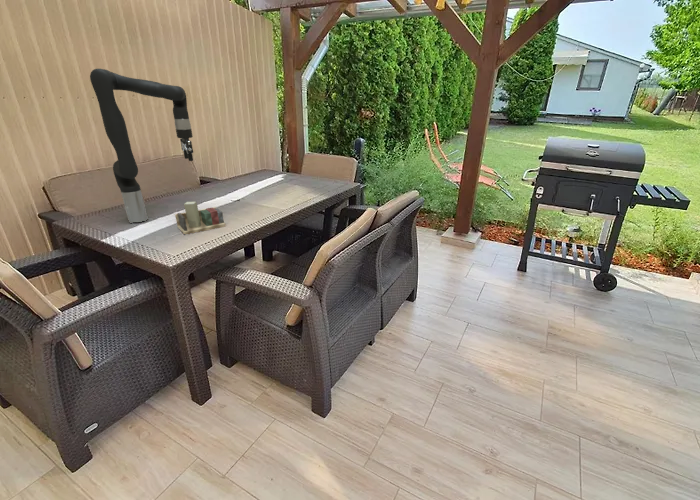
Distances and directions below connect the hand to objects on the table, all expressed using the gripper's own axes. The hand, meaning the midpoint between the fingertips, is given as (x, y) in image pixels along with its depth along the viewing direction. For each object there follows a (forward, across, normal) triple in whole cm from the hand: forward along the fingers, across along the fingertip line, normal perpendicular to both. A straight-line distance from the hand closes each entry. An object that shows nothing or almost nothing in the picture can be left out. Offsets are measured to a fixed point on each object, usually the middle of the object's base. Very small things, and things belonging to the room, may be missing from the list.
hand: (189, 159), depth 188 cm
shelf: (+32, +19, -4) cm, 37 cm away
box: (+31, +20, -7) cm, 37 cm away
